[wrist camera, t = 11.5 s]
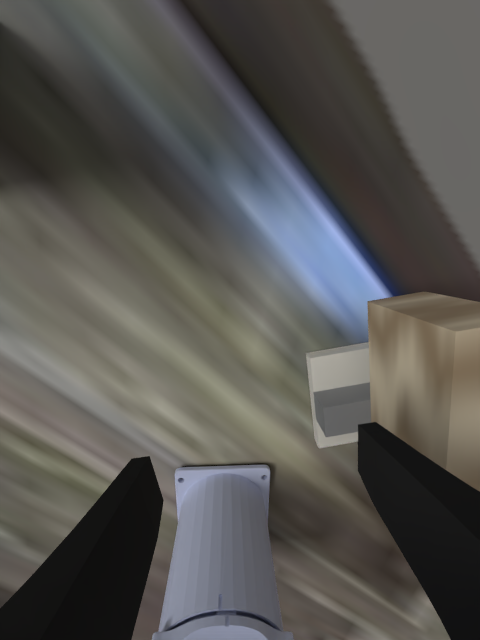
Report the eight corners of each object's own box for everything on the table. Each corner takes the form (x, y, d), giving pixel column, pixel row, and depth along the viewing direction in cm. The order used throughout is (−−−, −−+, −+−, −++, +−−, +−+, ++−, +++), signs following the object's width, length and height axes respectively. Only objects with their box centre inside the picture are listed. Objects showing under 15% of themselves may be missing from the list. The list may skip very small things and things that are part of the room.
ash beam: (417, 494, 19) (499, 597, 13) (373, 502, 19) (436, 609, 13) (424, 291, 15) (548, 315, 9) (367, 301, 15) (455, 331, 9)
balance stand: (430, 419, 21) (462, 445, 18) (314, 439, 21) (328, 469, 18) (434, 330, 19) (471, 344, 16) (305, 353, 19) (320, 370, 16)
